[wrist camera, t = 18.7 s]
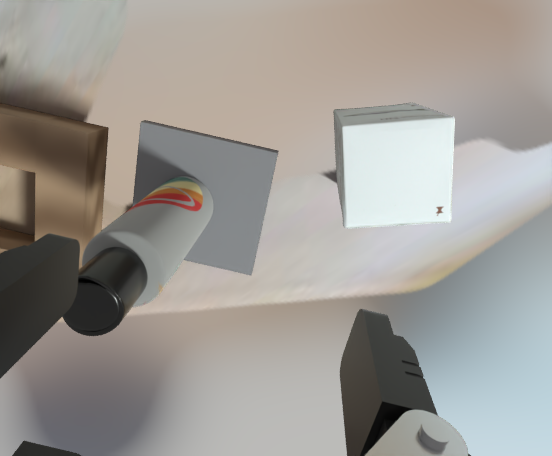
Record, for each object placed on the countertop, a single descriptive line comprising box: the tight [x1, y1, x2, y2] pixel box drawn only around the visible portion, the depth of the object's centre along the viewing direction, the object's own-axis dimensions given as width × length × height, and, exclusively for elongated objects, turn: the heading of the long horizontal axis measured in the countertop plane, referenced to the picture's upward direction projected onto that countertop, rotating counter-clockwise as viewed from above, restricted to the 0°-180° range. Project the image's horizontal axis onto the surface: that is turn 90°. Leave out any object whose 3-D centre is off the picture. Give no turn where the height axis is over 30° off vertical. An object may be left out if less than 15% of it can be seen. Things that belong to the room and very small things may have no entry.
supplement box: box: [334, 103, 455, 228], centre depth 34 cm, size 7×7×13 cm
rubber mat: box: [133, 120, 278, 275], centre depth 42 cm, size 13×13×1 cm
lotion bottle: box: [62, 176, 213, 336], centre depth 33 cm, size 6×6×20 cm
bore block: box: [0, 103, 108, 269], centre depth 42 cm, size 18×18×4 cm
